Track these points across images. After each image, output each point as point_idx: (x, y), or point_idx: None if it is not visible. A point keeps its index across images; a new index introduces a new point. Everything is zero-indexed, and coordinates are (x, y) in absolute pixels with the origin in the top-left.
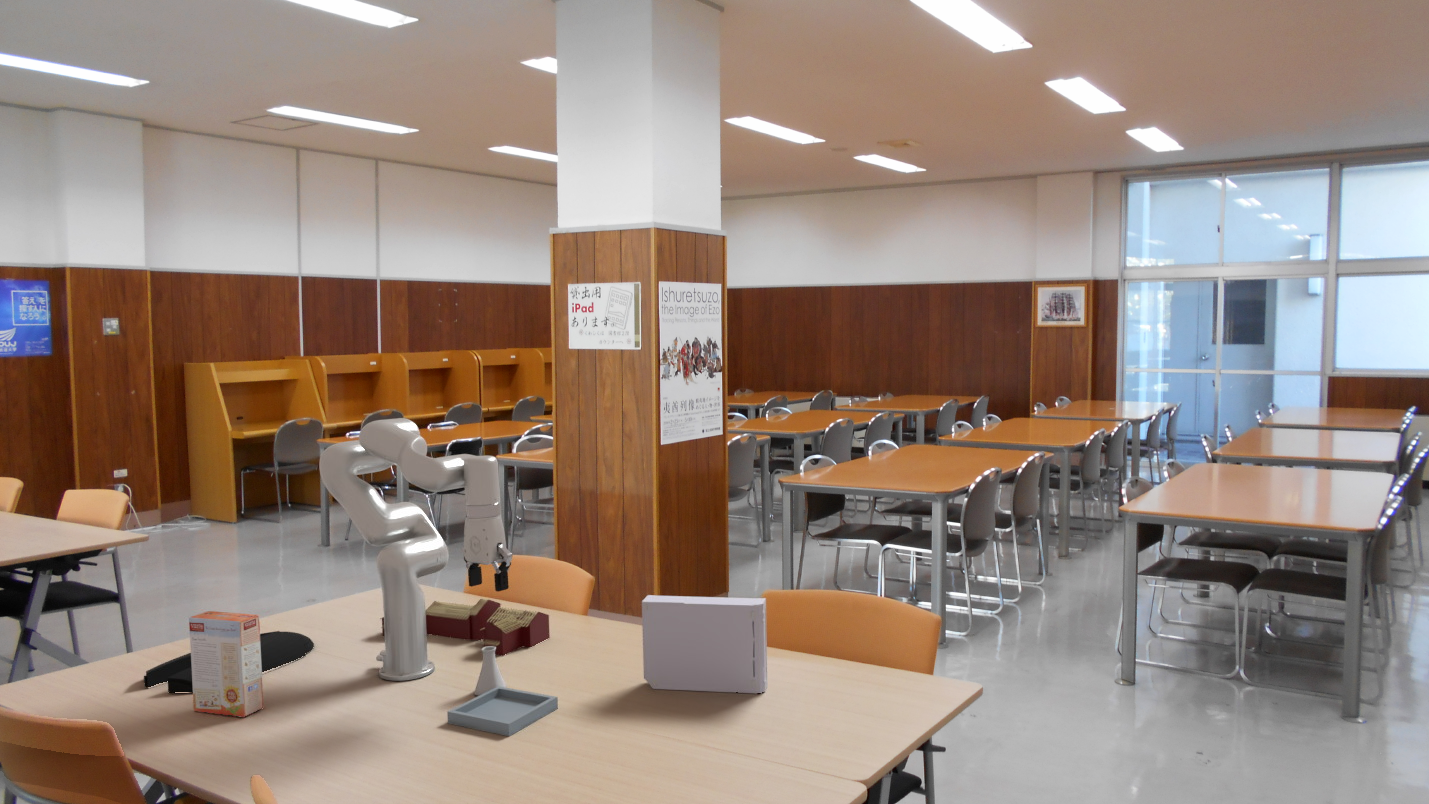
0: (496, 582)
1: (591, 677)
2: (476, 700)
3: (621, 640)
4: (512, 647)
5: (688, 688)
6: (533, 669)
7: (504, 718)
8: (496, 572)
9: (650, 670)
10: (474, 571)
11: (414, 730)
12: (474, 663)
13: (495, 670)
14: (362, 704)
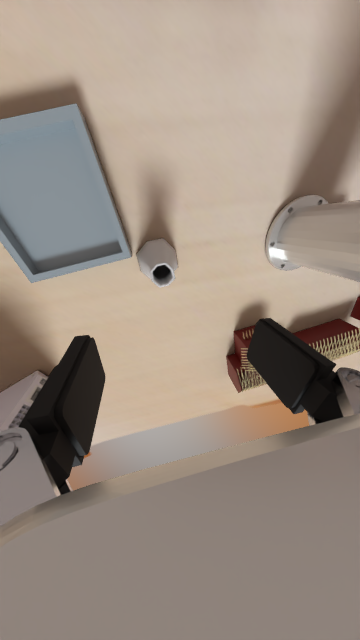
0: (60, 366)
1: (113, 351)
2: (101, 195)
3: (175, 402)
4: (236, 345)
5: (9, 387)
6: (178, 329)
7: (24, 191)
8: (25, 433)
9: (27, 384)
10: (294, 374)
11: (91, 28)
12: (243, 303)
13: (148, 268)
14: (276, 81)
